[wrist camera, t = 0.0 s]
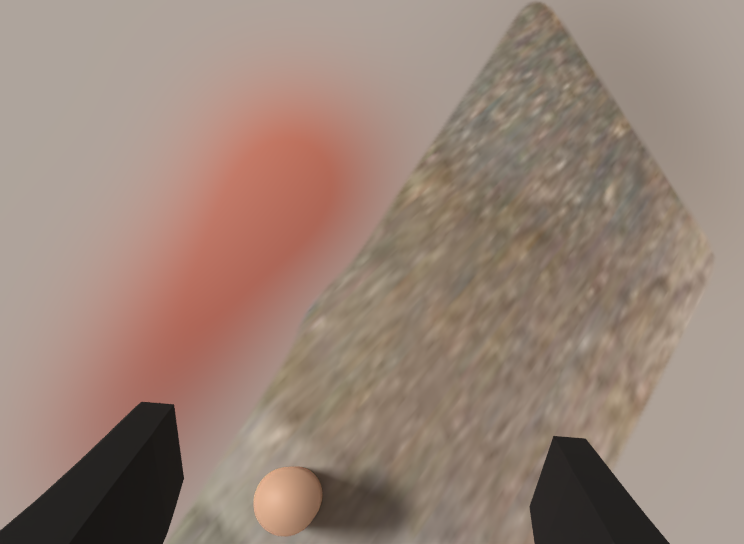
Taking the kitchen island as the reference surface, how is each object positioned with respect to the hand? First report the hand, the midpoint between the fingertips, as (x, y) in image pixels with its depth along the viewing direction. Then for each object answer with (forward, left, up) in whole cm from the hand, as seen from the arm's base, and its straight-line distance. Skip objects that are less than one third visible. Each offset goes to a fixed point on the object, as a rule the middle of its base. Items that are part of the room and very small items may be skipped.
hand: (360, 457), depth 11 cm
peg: (-3, +4, -32) cm, 33 cm away
